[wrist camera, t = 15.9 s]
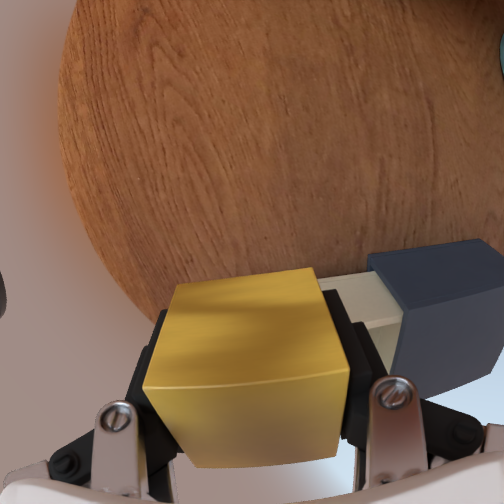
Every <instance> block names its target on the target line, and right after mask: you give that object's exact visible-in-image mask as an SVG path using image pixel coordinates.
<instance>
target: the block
mask: <svg viewBox="0 0 504 504" xmlns="http://www.w3.org/2000/svg"><path fill="white" fill-rule="evenodd" d="M349 375H350V367H349V364H348V361H347V358H346V355H345V353H344V350H343V347H342V344H341V341H340V339H339V336H338V333H337V330H336V328H335V325H334V322H333V320H332V317H331V314H330V312H329V309H328V306H327V304H326V301H325V298H324V296H323V293H322V291H321V288H320V286H319V283H318V280H317V278H316V275H315V273H314V270H313V268H311V267H310V268H303V269H296V270H288V271H281V272H273V273H266V274H258V275H250V276H242V277H234V278H226V279H218V280H210V281H202V282H193V283H184V284H178V285H177V287H176V289H175V292H174V295H173V298H172V300H171V303H170V306H169V309H168V311H167V314H166V317H165V320H164V323H163V326H162V328H161V331H160V334H159V337H158V340H157V343H156V346H155V349H154V352H153V355H152V358H151V361H150V364H149V367H148V370H147V373H146V376H145V380H144V383H143V386H142V388H143V391H144V392H145V394H146V396H147V397H148V399H149V401H150V402H151V404H152V405H153V407H154V409H155V410H156V412H157V413H158V415H159V416H160V418H161V419H162V421H163V422H164V424H165V425H166V427H167V428H168V430H169V431H170V433H171V434H172V436H173V437H174V439H175V440H176V441H177V443H178V444H179V446H180V447H181V448H182V450H183V451H184V453H185V454H186V455H187V457H188V458H189V459H190V461H191V462H192V463H193V464H194V466H195V467H196V468H245V467H261V466H273V465H283V464H291V463H298V462H306V461H313V460H319V459H324V458H330V457H335V456H336V453H337V448H338V444H339V438H340V433H341V427H342V422H343V416H344V410H345V403H346V397H347V390H348V382H349Z"/></svg>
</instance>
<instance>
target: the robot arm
mask: <svg viewBox="0 0 504 504" xmlns="http://www.w3.org/2000/svg"><path fill="white" fill-rule="evenodd" d="M322 293H323V296H324V298H325V301H326V304H327V306H328V309H329V312H330V314H331V317H332V320H333V322H334V325H335V328H336V330H337V333H338V336H339V339H340V341H341V344H342V347H343V350H344V353H345V355H346V358H347V361H348V364H349V367H350V375H349V382H348V390H347V397H346V403H345V410H344V416H343V422H342V427H341V433H340V435H341V439H342V440H343V439H347V442H348V443H349V444H351V445H353V446H355V467H354V481H353V493H349V494H344V495H339V496H334V497H329V498H324V499H317V500H311V501H303V502H296V503H287V504H504V425H499V424H490V423H488V424H487V425H486V426H483V425H481V423H480V422H479V421H478V420H477V419H476V418H474V417H473V416H470V415H468V414H465V413H462V412H459V411H456V410H453V409H450V408H447V407H444V406H441V405H438V404H436V403H433V402H430V401H427V400H425V399H422V398H419V393H418V390H417V387H416V385H415V384H414V383H413V382H412V381H411V380H410V379H408V378H406V377H404V376H400V375H388V373H387V370H386V368H385V366H384V364H383V362H382V359H381V357H380V355H379V353H378V351H377V349H376V347H375V344H374V342H373V340H372V338H371V336H370V334H369V332H368V330H367V328H366V326H365V324H364V322H362V321H360V322H354V323H351V320H350V318H349V316H348V314H347V311H346V309H345V307H344V305H343V302H342V300H341V298H340V296H339V294H338V292H337V290H336V289H330V290H323V291H322ZM167 311H168V309H164V310H162V311H161V312H160V315H159V318H158V320H157V323H156V326H155V328H154V331H153V334H152V336H151V339H150V342H149V344H148V346H145V347H144V348H143V350H142V352H141V355H140V358H139V360H138V363H137V367H136V369H135V371H134V374H133V377H132V380H131V383H130V385H129V389H128V391H127V394H126V397H125V400H117V401H113V402H110V403H108V404H106V405H104V406H103V407H102V408H101V409H100V411H99V412H98V414H97V416H96V420H95V429H93V430H91V431H90V432H88V433H87V434H85V435H83V436H81V437H80V438H78V439H76V440H75V441H73V442H71V443H69V444H68V445H66V446H64V447H62V448H61V449H59V450H57V451H56V452H55V453H54V454H53V455H52V456H51V458H50V461H49V462H48V461H47V460H44V461H41V462H38V463H35V464H32V465H29V466H26V467H23V468H20V469H17V470H14V471H11V472H10V473H8V474H7V475H6V477H5V479H4V490H3V492H2V493H1V495H0V504H179V500H178V493H177V487H176V480H175V473H174V466H173V459H174V458H175V457H176V456H177V453H184V451H183V450H182V448H181V447H180V446H179V444H178V443H177V441H176V440H175V439H174V437H173V436H172V434H171V433H170V431H169V430H168V428H167V427H166V425H165V424H164V422H163V421H162V419H161V418H160V416H159V415H158V413H157V412H156V410H155V409H154V407H153V405H152V404H151V402H150V401H149V399H148V397H147V396H146V394H145V392H144V391H143V388H142V386H143V383H144V380H145V376H146V373H147V370H148V367H149V364H150V361H151V358H152V355H153V352H154V349H155V346H156V343H157V340H158V337H159V334H160V331H161V328H162V326H163V323H164V320H165V317H166V314H167Z"/></svg>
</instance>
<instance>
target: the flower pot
mask: <svg viewBox="0 0 504 504" xmlns="http://www.w3.org/2000/svg"><path fill="white" fill-rule="evenodd" d="M500 59H501V65H502V70H503V75H504V34H503V36H502V39H501V45H500Z"/></svg>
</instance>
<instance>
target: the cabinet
mask: <svg viewBox="0 0 504 504" xmlns="http://www.w3.org/2000/svg"><path fill="white" fill-rule="evenodd" d="M372 271H375V272H376V273H377V275H378V276H379V277H380V279H381V280H382V282H383V283H384V284H385V286H386V287H387V289H388V290H389V292H390V293H391V294H392V296H393V297H394V299H395V300H396V302H397V303H398V305H399V306H400V308H401V309H402V311H403V312H404V313H403V318H402V323H401V327H400V332H399V337H398V341H397V345H396V349H395V353H394V357H393V361H392V365H391V369H390V373H389V375H400V376H404V377H406V378H408V379H410V380H411V381H412V382H413V383H414V384H415V385H416V387H417V390H418V393H419V398H422V399H427V398H430V397H433V396H436V395H439V394H441V393H444V392H447V391H449V390H452V389H455V388H457V387H460V386H462V385H465V384H467V383H470V382H472V381H474V380H477V379H479V378H481V377H483V376H485V375H488V374H490V373H491V371H492V369H493V367H494V365H495V363H496V362H497V360H498V357H499V355H500V353H501V351H502V349H503V347H504V256H503V255H501V254H500V253H499V252H497V251H496V250H495V249H493V248H492V247H491V246H489V245H488V244H486V243H485V242H484V241H482V240H481V239H473V240H467V241H460V242H453V243H446V244H440V245H433V246H426V247H418V248H411V249H404V250H397V251H390V252H382V253H375V254H368V261H367V272H372Z"/></svg>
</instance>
